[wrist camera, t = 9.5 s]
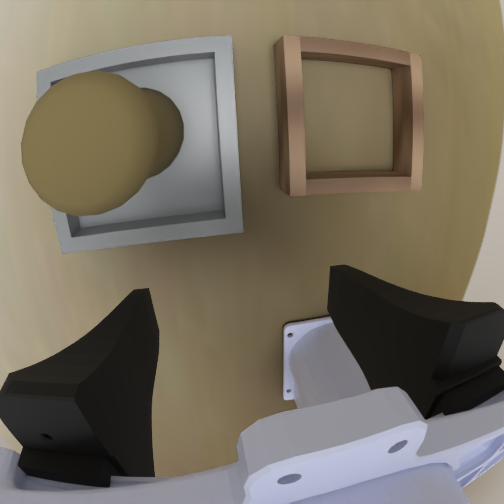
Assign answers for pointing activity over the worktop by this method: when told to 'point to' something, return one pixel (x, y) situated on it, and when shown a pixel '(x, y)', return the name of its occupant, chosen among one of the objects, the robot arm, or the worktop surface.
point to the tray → (191, 153)
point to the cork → (98, 142)
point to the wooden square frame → (293, 125)
